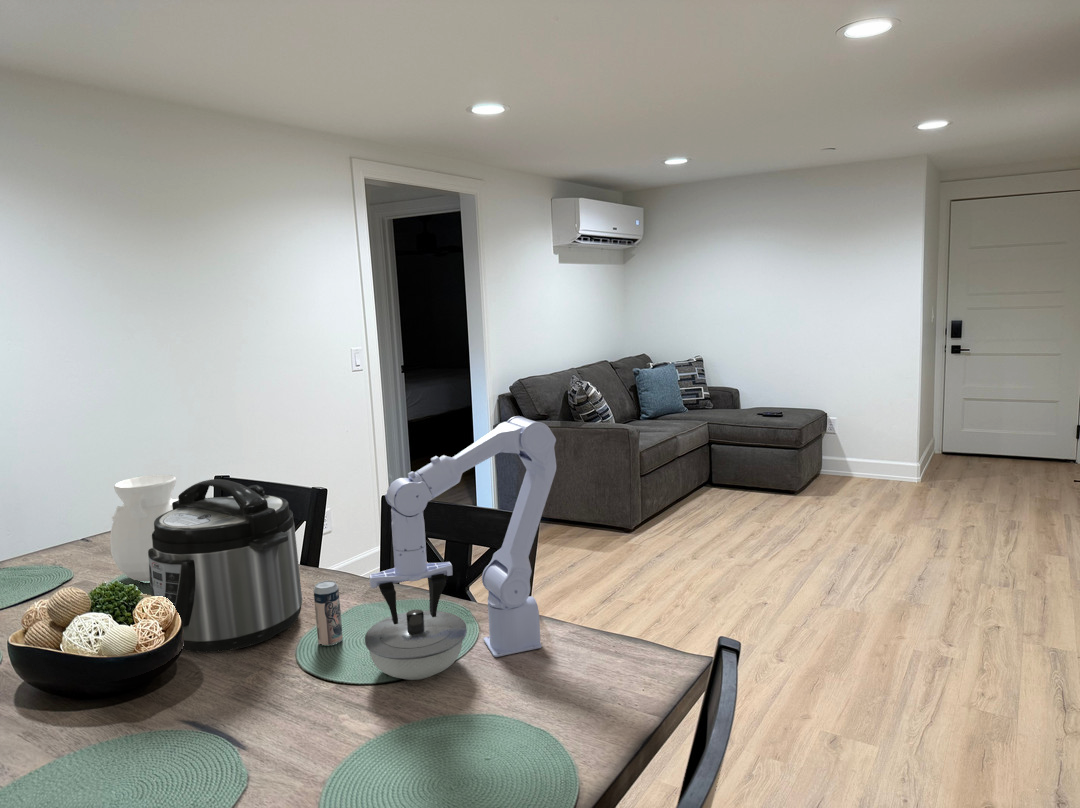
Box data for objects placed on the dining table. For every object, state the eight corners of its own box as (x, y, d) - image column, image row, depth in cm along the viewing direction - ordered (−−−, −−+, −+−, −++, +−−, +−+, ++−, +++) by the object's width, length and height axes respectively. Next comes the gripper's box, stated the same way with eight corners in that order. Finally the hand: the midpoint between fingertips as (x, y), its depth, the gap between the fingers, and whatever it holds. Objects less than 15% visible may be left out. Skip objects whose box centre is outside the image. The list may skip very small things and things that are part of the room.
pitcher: (134, 566, 195) (123, 474, 192) (207, 561, 197) (197, 469, 194) (101, 594, 177) (87, 492, 173) (181, 588, 179) (170, 487, 175)
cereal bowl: (422, 703, 124) (419, 663, 123) (351, 679, 133) (348, 642, 132) (482, 659, 138) (480, 623, 137) (414, 640, 147) (412, 606, 146)
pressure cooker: (163, 614, 164) (146, 474, 160) (297, 590, 175) (285, 458, 170) (151, 676, 137) (131, 508, 132) (311, 643, 147) (297, 487, 143)
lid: (455, 607, 145) (453, 587, 144) (477, 647, 128) (475, 624, 127) (360, 623, 139) (358, 602, 139) (370, 667, 122) (368, 643, 122)
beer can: (336, 648, 145) (331, 589, 143) (313, 647, 146) (308, 588, 144) (347, 637, 149) (342, 580, 148) (325, 636, 150) (320, 579, 149)
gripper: (370, 559, 126) (376, 635, 128) (454, 546, 131) (458, 619, 133) (365, 546, 133) (371, 619, 134) (445, 535, 137) (449, 605, 139)
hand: (414, 618), depth 134 cm, fingers open, 6 cm apart
